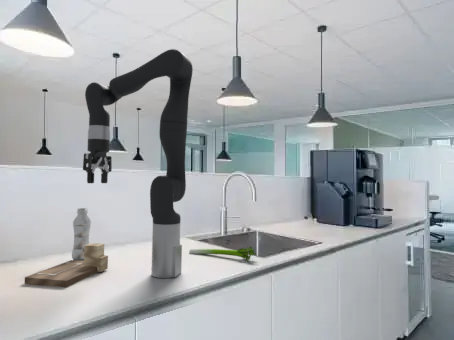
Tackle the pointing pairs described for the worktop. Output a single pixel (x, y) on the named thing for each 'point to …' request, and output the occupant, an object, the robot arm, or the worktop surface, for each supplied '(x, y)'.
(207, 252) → the leek
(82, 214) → the plastic bottle
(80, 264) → the board
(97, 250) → the stepped wooden block
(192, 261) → the worktop surface
